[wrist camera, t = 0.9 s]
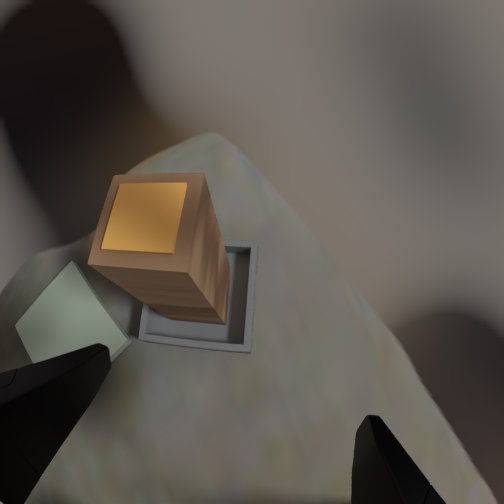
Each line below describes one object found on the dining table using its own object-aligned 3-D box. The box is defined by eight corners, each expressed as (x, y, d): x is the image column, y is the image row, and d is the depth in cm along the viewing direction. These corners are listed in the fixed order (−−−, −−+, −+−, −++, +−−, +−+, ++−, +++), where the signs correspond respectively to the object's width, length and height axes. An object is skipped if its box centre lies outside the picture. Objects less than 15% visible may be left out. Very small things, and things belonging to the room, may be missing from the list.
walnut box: (226, 325, 23) (185, 270, 11) (171, 319, 23) (84, 262, 11) (231, 270, 25) (203, 170, 12) (178, 267, 25) (112, 172, 13)
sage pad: (132, 341, 23) (127, 340, 22) (66, 407, 20) (60, 408, 19) (76, 263, 26) (71, 260, 25) (20, 327, 23) (14, 325, 22)
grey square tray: (250, 353, 22) (250, 351, 21) (147, 341, 23) (138, 339, 21) (258, 251, 26) (257, 241, 24) (162, 246, 26) (155, 237, 24)
